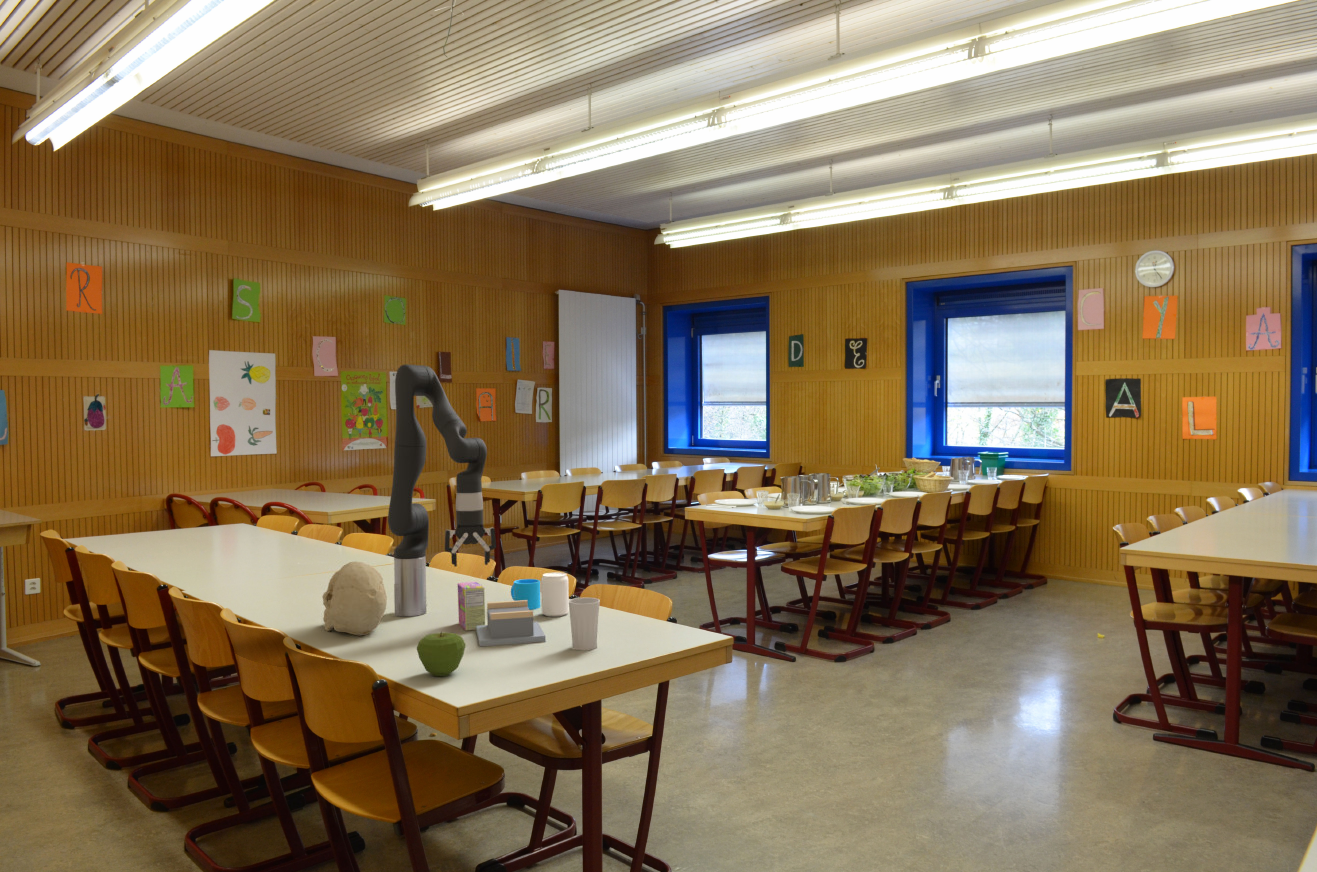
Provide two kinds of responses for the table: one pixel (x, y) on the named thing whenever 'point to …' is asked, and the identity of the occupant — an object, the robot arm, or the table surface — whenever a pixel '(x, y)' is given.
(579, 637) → the cup
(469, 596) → the box
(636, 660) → the table surface
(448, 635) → the apple
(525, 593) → the mug
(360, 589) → the skull
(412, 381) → the robot arm
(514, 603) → the display stand
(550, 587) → the beverage can
